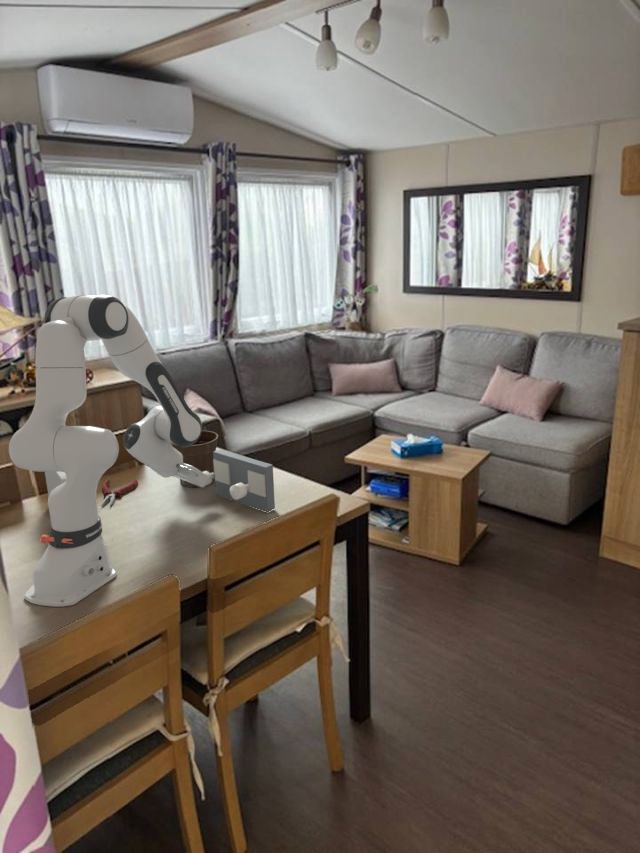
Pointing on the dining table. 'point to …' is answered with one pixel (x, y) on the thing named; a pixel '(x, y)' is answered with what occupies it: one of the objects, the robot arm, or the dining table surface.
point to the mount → (244, 479)
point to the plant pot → (200, 454)
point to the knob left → (210, 475)
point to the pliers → (116, 492)
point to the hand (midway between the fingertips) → (196, 482)
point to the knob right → (239, 490)
